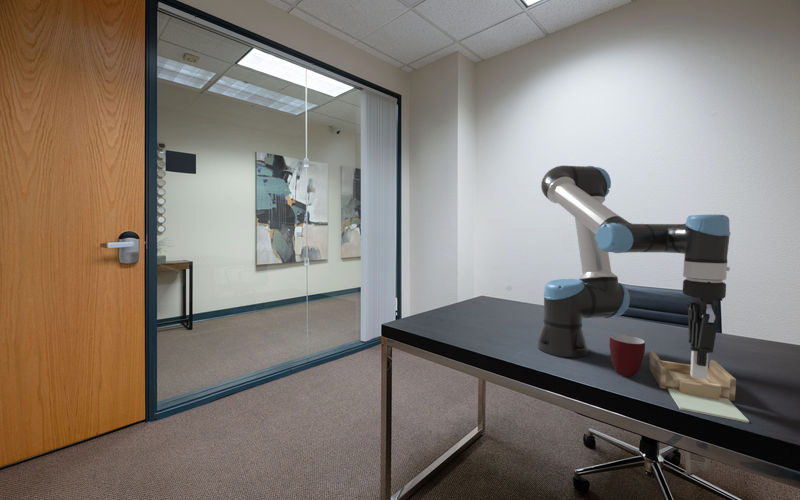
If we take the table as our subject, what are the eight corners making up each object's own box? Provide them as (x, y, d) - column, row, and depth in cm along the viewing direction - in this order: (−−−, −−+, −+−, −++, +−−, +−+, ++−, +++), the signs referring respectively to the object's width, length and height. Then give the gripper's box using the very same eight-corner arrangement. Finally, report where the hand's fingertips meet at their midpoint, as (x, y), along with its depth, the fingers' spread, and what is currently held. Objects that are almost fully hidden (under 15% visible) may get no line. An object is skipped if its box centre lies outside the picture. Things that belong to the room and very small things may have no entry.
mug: (600, 363, 99) (602, 331, 98) (631, 366, 97) (633, 333, 96) (614, 379, 88) (616, 342, 88) (649, 382, 86) (651, 345, 86)
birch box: (660, 387, 84) (661, 367, 83) (649, 368, 95) (650, 351, 95) (734, 401, 77) (736, 379, 77) (713, 379, 89) (714, 360, 88)
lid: (680, 411, 73) (680, 395, 73) (667, 392, 82) (668, 377, 82) (748, 425, 68) (749, 408, 68) (727, 403, 77) (728, 387, 77)
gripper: (738, 285, 70) (731, 392, 72) (714, 277, 82) (708, 370, 83) (692, 282, 74) (686, 384, 75) (676, 275, 85) (671, 364, 87)
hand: (698, 376), depth 79 cm, fingers closed
